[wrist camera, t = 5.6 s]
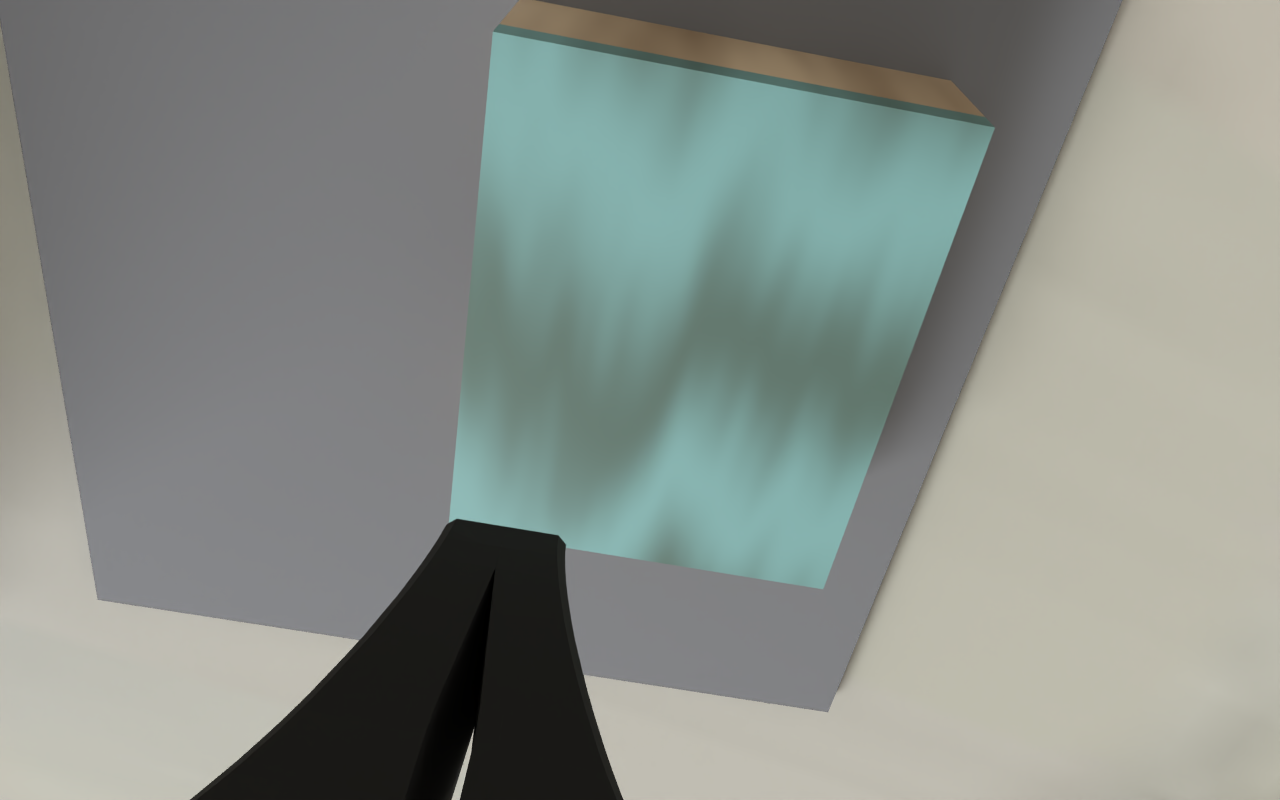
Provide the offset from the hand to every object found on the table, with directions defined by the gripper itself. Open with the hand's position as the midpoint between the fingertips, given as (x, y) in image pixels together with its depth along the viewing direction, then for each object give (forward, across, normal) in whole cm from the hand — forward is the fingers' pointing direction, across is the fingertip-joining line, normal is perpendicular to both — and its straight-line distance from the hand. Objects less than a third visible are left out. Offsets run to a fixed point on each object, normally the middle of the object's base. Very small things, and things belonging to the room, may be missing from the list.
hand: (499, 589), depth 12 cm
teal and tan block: (+8, +2, 0) cm, 8 cm away
